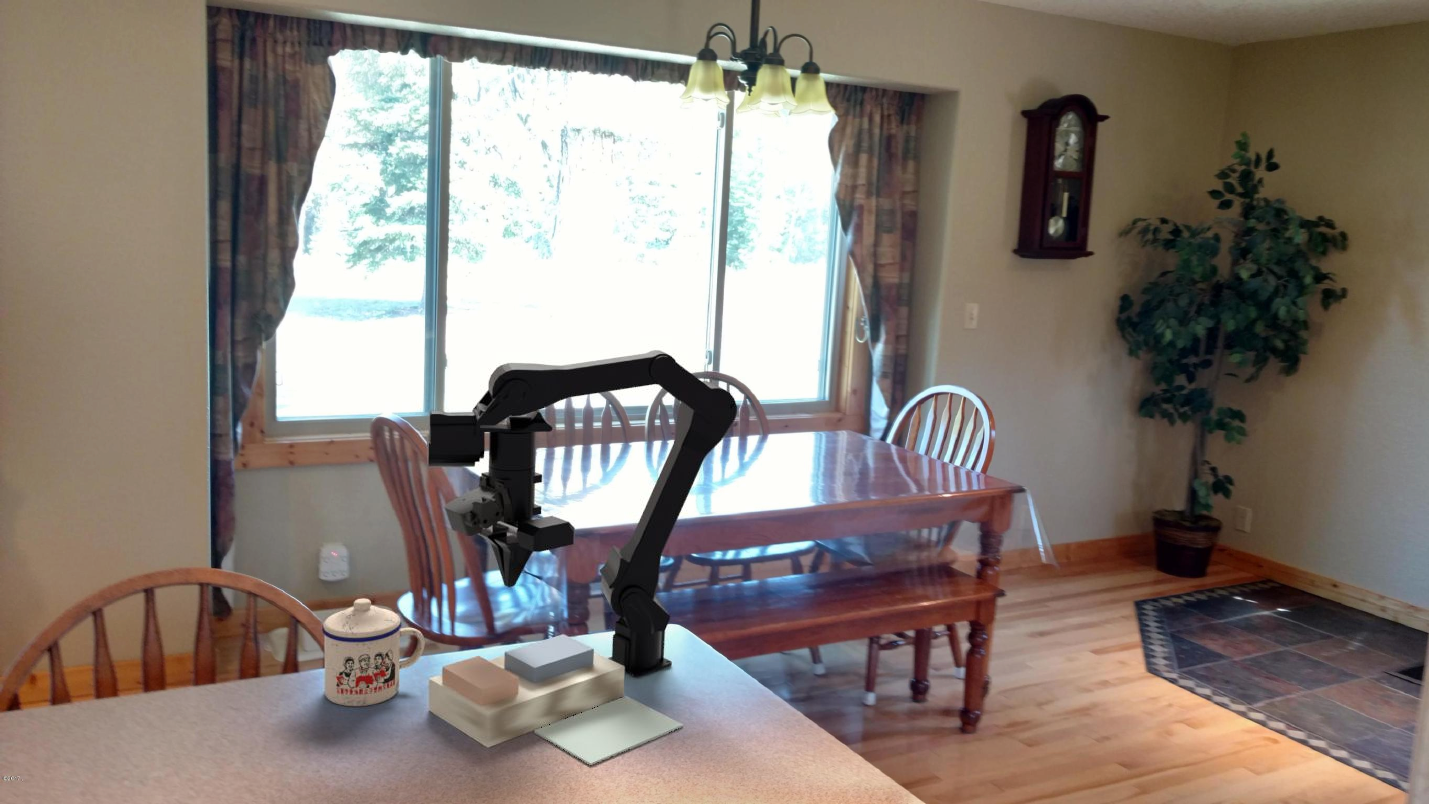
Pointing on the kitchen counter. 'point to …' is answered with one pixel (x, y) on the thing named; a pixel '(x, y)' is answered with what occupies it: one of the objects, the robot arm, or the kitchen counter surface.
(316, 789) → the kitchen counter surface
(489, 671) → the terracotta tile
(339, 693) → the teacup with lid
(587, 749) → the mat
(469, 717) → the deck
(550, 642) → the grey-blue rectangular block
